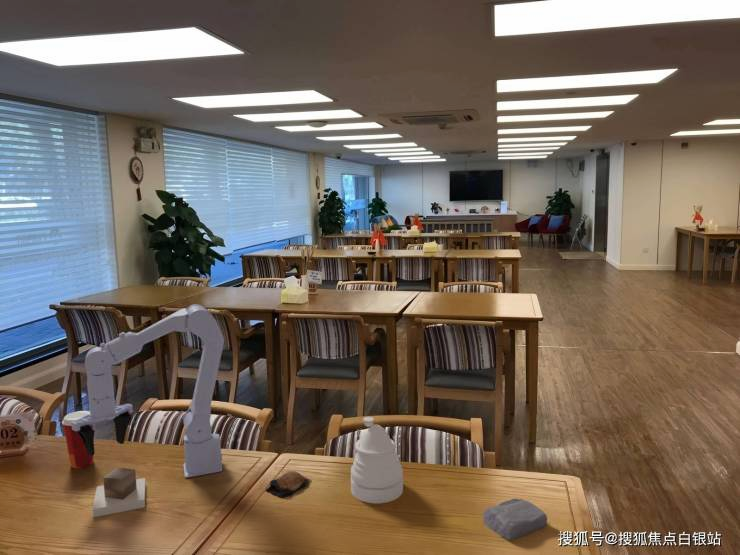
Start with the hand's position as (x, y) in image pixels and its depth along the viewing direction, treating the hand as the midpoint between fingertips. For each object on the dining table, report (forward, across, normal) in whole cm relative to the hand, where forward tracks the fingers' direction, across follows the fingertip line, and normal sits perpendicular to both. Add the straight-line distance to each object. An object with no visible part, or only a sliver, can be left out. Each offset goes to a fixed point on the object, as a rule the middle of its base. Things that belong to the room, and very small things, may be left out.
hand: (106, 448), depth 139 cm
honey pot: (+11, +38, -56) cm, 68 cm away
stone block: (+11, +43, -89) cm, 100 cm away
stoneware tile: (+10, -2, -8) cm, 13 cm away
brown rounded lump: (+11, +26, -37) cm, 47 cm away
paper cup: (+11, +2, +19) cm, 22 cm away
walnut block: (+8, -2, -9) cm, 12 cm away
